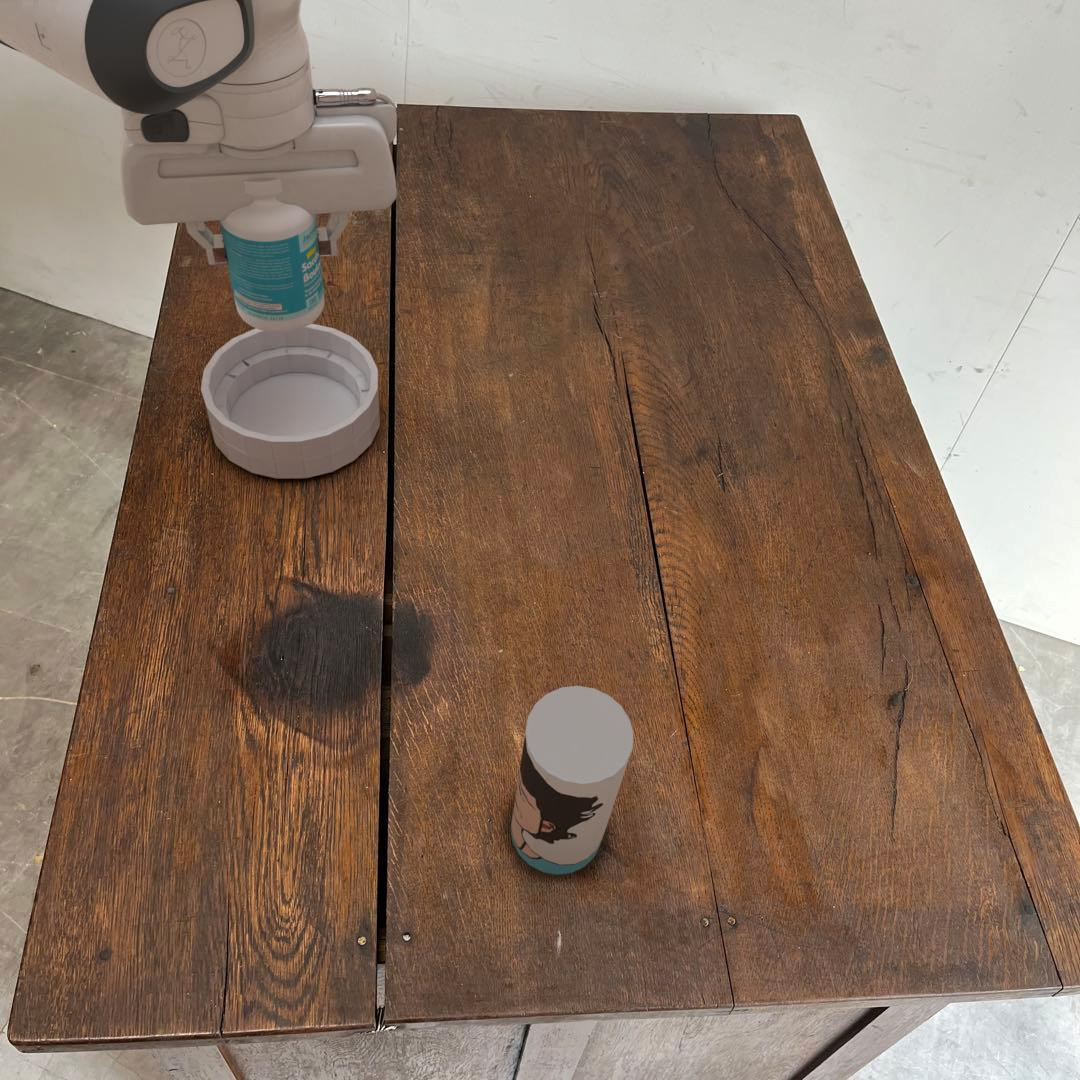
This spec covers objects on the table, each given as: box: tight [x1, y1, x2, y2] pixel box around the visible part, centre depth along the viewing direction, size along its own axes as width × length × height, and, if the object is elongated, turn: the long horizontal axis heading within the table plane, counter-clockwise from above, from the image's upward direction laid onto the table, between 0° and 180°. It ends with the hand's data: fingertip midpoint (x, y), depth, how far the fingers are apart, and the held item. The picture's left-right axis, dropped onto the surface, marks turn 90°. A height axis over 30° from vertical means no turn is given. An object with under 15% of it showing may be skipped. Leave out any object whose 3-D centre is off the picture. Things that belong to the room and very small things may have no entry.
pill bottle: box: [219, 179, 325, 333], centre depth 83 cm, size 8×7×14 cm
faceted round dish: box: [200, 323, 381, 480], centre depth 96 cm, size 16×16×6 cm
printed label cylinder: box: [510, 685, 634, 876], centre depth 70 cm, size 7×7×15 cm
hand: (273, 256), depth 84 cm, fingers closed on pill bottle, 7 cm apart
